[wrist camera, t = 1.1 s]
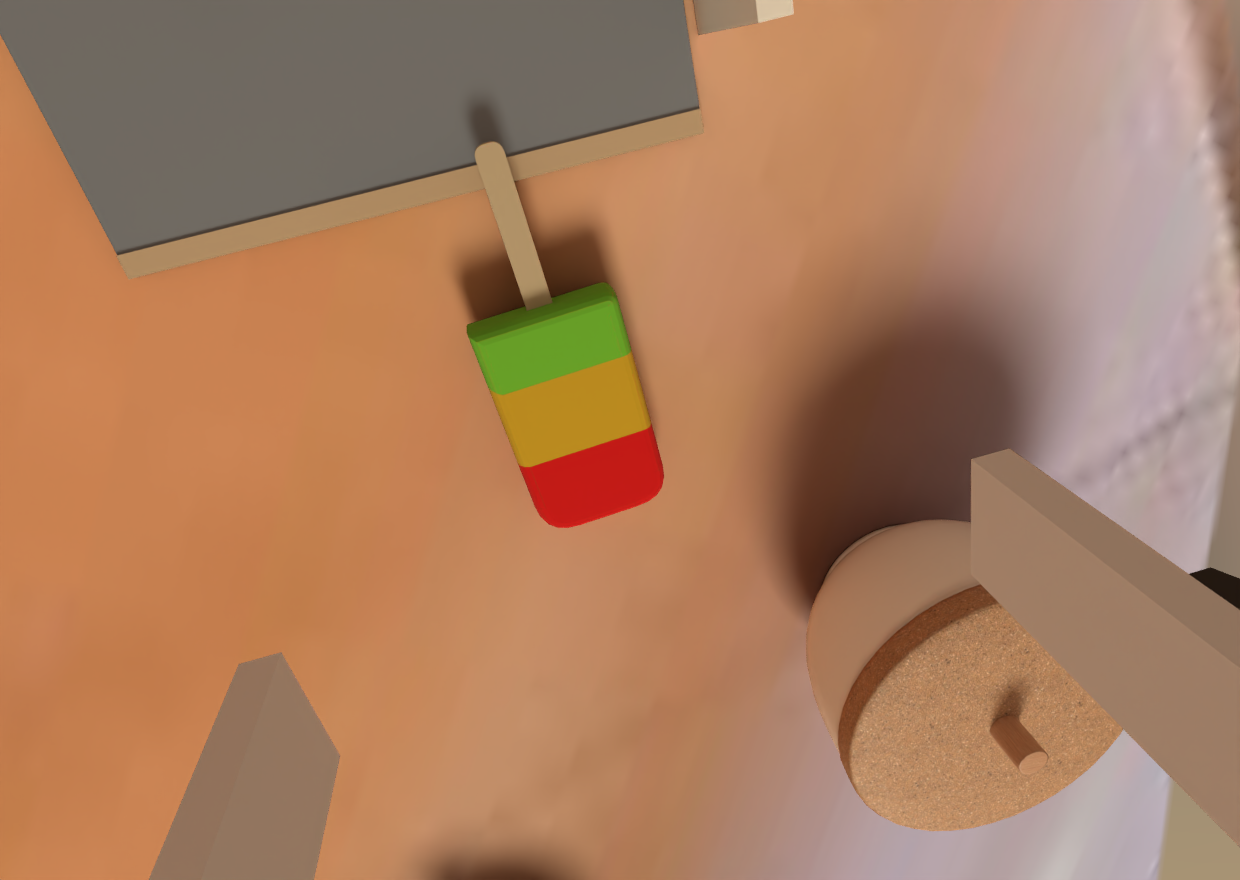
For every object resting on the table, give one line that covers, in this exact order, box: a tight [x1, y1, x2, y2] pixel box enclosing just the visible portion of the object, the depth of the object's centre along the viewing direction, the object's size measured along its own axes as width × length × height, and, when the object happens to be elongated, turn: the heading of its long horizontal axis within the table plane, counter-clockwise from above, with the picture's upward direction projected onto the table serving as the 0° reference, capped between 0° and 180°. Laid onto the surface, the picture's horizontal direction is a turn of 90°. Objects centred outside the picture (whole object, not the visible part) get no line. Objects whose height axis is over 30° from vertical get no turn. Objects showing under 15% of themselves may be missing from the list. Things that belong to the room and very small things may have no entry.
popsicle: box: [467, 141, 664, 528], centre depth 28 cm, size 6×15×2 cm, turn 15°
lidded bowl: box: [806, 520, 1123, 831], centre depth 33 cm, size 13×13×11 cm
